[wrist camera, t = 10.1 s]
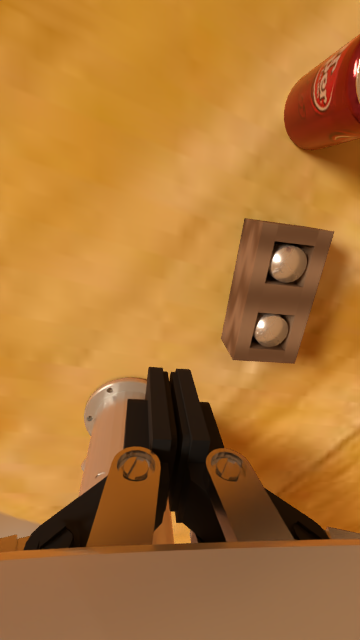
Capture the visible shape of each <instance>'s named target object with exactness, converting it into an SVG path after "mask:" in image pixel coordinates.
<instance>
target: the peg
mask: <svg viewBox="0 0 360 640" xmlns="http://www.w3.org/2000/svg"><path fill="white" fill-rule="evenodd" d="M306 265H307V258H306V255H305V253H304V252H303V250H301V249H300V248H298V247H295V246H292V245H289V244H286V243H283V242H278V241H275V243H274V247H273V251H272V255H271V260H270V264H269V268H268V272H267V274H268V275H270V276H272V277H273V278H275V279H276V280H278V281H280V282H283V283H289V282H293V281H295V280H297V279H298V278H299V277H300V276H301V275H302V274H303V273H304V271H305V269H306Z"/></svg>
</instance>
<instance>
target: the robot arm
mask: <svg viewBox="0 0 360 640" xmlns="http://www.w3.org/2000/svg"><path fill="white" fill-rule="evenodd" d="M84 421H85V426H86V429H87V431H88V432H89V434H90V436H91V439H90V444H89V449H88V454H87V457H86V459H85V460H84V461H83V463H82V465H81V468H82V470H83V471H84V473H83V478H82V482H81V487H80V492H79V497H78V498H77V499H75V500H74V501H73V502H71V503H70V504H69V505H67V506H66V507H65V508H63V509H62V510H61V511H59V512H58V513H57V514H55V515H54V516H53V517H51V518H50V519H49V520H47V521H46V522H44V523H43V524H42V525H40V526H39V527H38V528H37V529H36V530H35V531H34V532H33V533H32V534H31V536H27V537H23V538H19V539H17V535H12V536H8V537H4V538H0V640H360V534H359V533H354V532H350V531H345V530H340V529H336V528H331V527H327V529H326V531H325V530H323V529H322V528H321V526H319V525H318V524H317V523H316V522H314V521H313V520H312V519H310V518H309V517H307V516H306V515H304V514H303V513H301V512H300V511H298V510H297V509H295V508H294V507H292V506H291V505H289V504H288V503H286V502H285V501H283V500H282V499H280V498H279V497H277V496H276V495H274V494H273V493H271V492H270V491H268V490H267V489H265V488H264V487H263V485H262V484H261V482H260V480H259V478H258V477H257V475H256V473H255V472H254V470H253V468H252V467H251V465H250V463H249V462H248V461H247V459H246V458H245V457H244V456H242V455H241V454H240V453H238V452H236V451H234V450H231V449H227V448H224V445H223V442H222V439H221V436H220V433H219V430H218V427H217V424H216V421H215V418H214V415H213V412H212V410H211V407H210V404H209V403H208V402H199V399H198V395H197V392H196V388H195V385H194V381H193V378H192V374H191V371H190V370H189V369H176V372H171V374H170V381H169V378H168V372H164V371H163V368H157V367H149V369H148V377H147V381H146V380H144V379H138V378H121V379H116V380H113V381H110V382H108V383H106V384H104V385H102V386H101V387H100V388H98V389H97V390H96V391H95V392H94V393H93V394H92V395H91V397H90V399H89V400H88V402H87V405H86V409H85V414H84ZM171 511H175V515H176V523H184V524H185V525H186V526H187V527H188V528H189V529H190V538H191V543H186V544H174V537H173V528H172V518H171Z"/></svg>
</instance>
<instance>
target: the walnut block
mask: <svg viewBox="0 0 360 640" xmlns="http://www.w3.org/2000/svg"><path fill="white" fill-rule="evenodd" d="M333 234H334V232H333V231H327V230H322V229H316V228H310V227H304V226H297V225H290V224H282V223H275V222H267V221H260V220H253V219H245V220H244V225H243V230H242V235H241V240H240V245H239V250H238V255H237V261H236V266H235V271H234V276H233V281H232V286H231V291H230V296H229V301H228V306H227V312H226V317H225V322H224V327H223V332H222V337H221V339H222V341H223V343H224V345H225V346H226V348H227V350H228V352H229V353H230V355H231V357H232V359H233V360H243V361H260V362H277V363H294V364H295V360H296V357H297V354H298V350H299V347H300V344H301V340H302V337H303V334H304V330H305V327H306V324H307V320H308V317H309V314H310V311H311V307H312V304H313V301H314V297H315V294H316V291H317V287H318V284H319V281H320V277H321V274H322V271H323V267H324V264H325V261H326V257H327V254H328V251H329V248H330V244H331V241H332V238H333ZM275 241H278V242H283V243H286V244H289V245H292V246H295V247H298V248H300V249H301V250H303V252H304V253H305V255H306V258H307V265H306V269H305V271H304V273H303V274H302V275H301V276H300V277H299V278H298V279H297V280H295V281H293V282H289V283H283V282H280V281H278V280H276V279H275V278H273V277H272V276H270V275H268V274H267V272H268V268H269V264H270V260H271V255H272V251H273V247H274V243H275ZM258 312H260V313H272V314H278V315H279V316H281V317H282V318H283V319H284V320H285V321H286V323H287V325H288V333H287V336H286V338H285V339H284V340H283V341H282V342H281V343H280V344H278V345H276V346H273V347H265V346H262V345H261V344H260V343H259V342H258V341H257V340H256V339H255V338H254V336H253V332H254V327H255V323H256V319H257V315H258Z"/></svg>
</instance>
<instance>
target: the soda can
mask: <svg viewBox="0 0 360 640" xmlns="http://www.w3.org/2000/svg"><path fill="white" fill-rule="evenodd" d="M284 123H285V128H286V131H287V134H288V135H289V137H290V139H291V140H292V141H293V142H294V143H295V144H296V145H297V146H299V147H300V148H303V149H305V150H318V149H322V148H326V147H329V146H333V145H337V144H340V143H344V142H348V141H352V140H355V139H359V138H360V34H359V35H358V36H357V37H355V38H354V39H352V40H351V41H350V42H348V43H347V44H346V45H344V46H343V47H342V48H340V49H339V50H338V51H336V52H335V53H334V54H332V55H331V56H330V57H328V58H327V59H326V60H324V61H323V62H322V63H320V64H319V65H318V66H316V67H315V68H314V69H312V70H311V71H310V72H308V73H307V74H306V75H304V76H303V77H302V78H301V79H300V80H299V81H298V82H297V83H296V84H295V85H294V87H293V88H292V90H291V92H290V93H289V95H288V98H287V101H286V104H285V110H284Z"/></svg>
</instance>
